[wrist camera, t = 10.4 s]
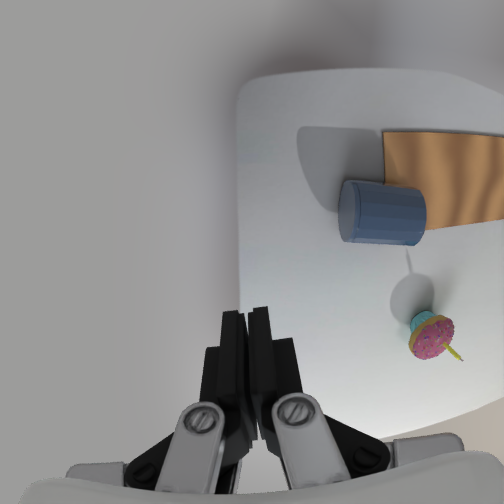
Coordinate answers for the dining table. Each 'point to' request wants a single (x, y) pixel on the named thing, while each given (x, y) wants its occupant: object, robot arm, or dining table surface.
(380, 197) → the cup
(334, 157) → the dining table surface
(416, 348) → the cupcake
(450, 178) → the placemat
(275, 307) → the dining table surface
